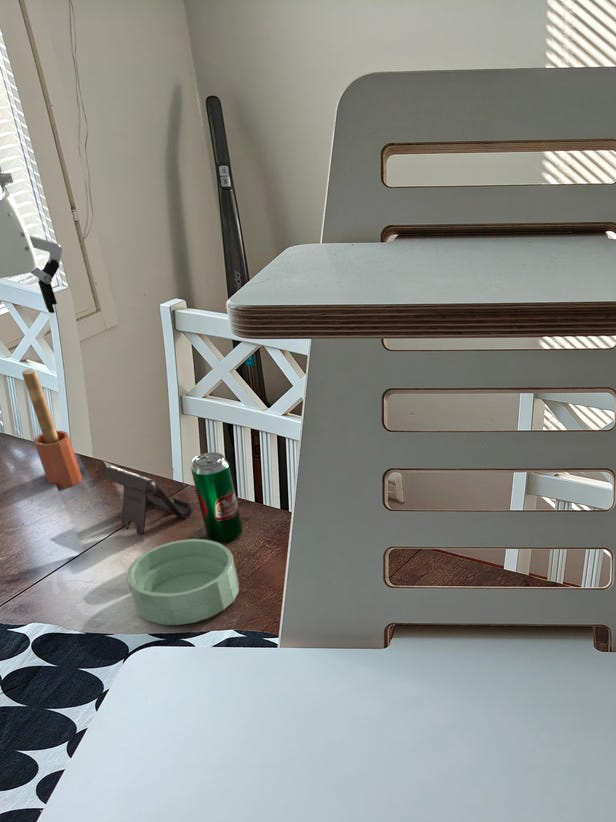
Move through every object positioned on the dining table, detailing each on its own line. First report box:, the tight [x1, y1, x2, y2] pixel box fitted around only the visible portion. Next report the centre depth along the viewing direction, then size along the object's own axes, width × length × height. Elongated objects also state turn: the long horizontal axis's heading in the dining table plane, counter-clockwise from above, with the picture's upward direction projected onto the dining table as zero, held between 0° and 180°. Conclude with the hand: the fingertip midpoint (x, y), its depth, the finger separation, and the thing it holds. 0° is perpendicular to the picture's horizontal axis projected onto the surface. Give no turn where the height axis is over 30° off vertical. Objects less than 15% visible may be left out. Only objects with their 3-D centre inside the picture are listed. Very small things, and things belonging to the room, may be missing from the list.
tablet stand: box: [104, 465, 192, 535], centre depth 142 cm, size 9×8×8 cm
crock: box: [33, 430, 83, 490], centre depth 152 cm, size 5×5×8 cm
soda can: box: [190, 452, 244, 543], centre depth 137 cm, size 5×5×12 cm
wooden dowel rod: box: [21, 368, 59, 444], centre depth 149 cm, size 3×2×18 cm
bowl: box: [126, 538, 240, 626], centre depth 127 cm, size 13×13×5 cm
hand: (15, 317), depth 138 cm, fingers open, 9 cm apart
